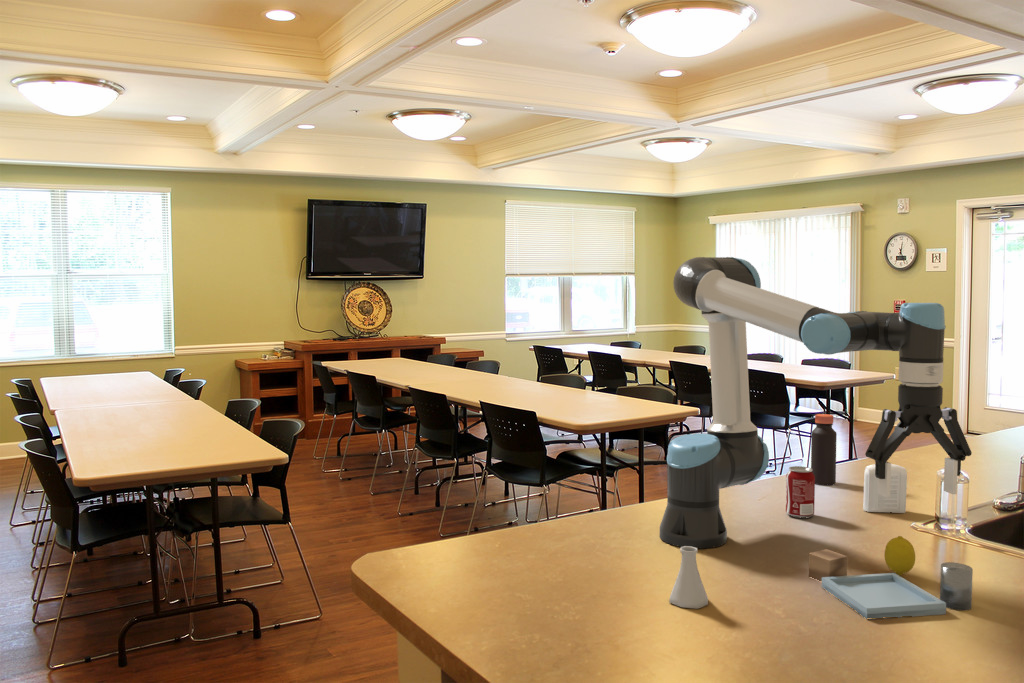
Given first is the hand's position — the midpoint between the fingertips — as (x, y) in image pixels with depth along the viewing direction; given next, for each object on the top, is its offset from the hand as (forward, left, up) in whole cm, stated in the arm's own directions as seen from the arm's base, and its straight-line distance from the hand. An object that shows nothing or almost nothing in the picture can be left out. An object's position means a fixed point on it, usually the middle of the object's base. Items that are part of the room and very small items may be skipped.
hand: (917, 494), depth 153 cm
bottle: (+24, +77, -18) cm, 83 cm away
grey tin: (+1, -10, -18) cm, 20 cm away
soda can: (+1, +47, -18) cm, 50 cm away
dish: (-11, -6, -18) cm, 22 cm away
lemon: (0, +5, -18) cm, 19 cm away
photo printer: (+24, +47, -18) cm, 56 cm away
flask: (-46, -1, -18) cm, 49 cm away
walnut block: (-15, +6, -18) cm, 24 cm away
